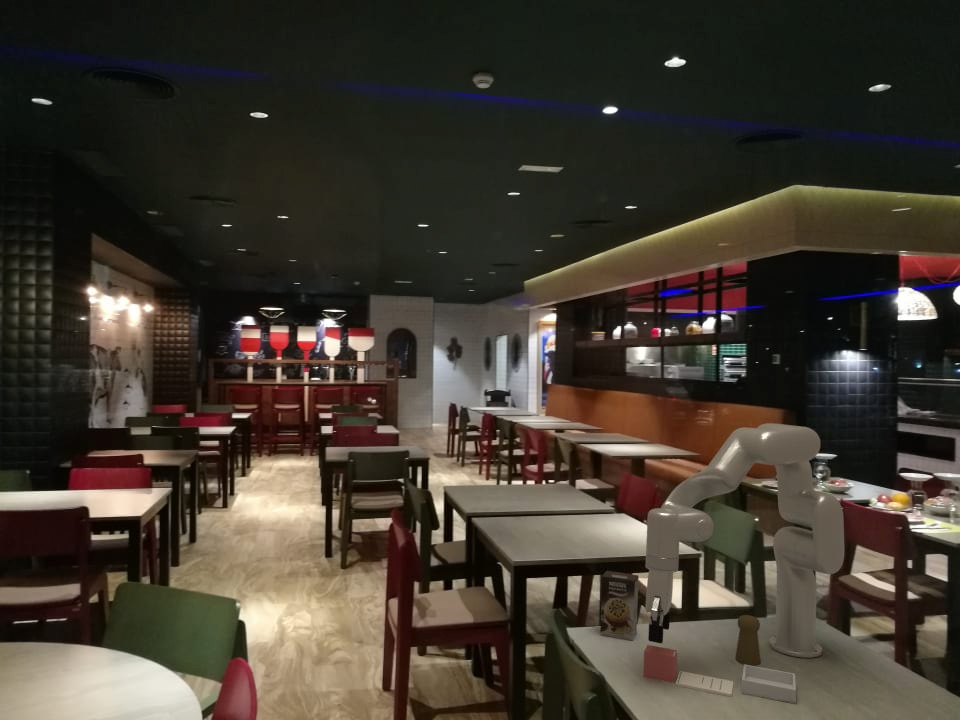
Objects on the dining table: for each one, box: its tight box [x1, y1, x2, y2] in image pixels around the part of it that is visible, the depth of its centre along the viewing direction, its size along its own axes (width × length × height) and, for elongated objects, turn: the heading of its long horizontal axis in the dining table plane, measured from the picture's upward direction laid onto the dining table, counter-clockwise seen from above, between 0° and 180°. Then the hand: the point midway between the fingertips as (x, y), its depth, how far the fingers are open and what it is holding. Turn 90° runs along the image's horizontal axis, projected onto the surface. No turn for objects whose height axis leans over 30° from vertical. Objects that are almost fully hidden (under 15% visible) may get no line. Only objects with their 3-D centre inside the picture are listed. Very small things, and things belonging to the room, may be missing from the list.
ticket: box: [675, 670, 734, 698], centre depth 157 cm, size 7×12×1 cm, turn 66°
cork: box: [734, 614, 762, 667], centre depth 171 cm, size 6×6×11 cm
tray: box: [741, 664, 797, 705], centre depth 156 cm, size 9×11×3 cm
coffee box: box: [600, 570, 639, 642], centre depth 187 cm, size 9×6×16 cm
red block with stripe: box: [642, 644, 678, 684], centre depth 162 cm, size 4×7×6 cm, turn 66°
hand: (658, 634), depth 161 cm, fingers open, 9 cm apart
